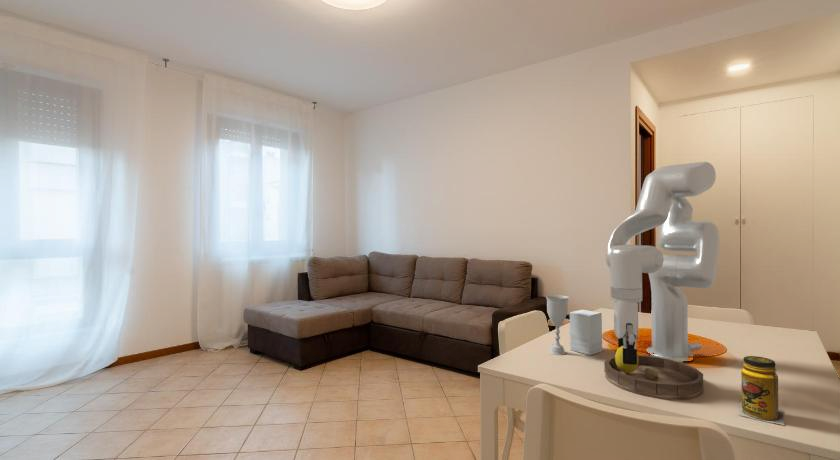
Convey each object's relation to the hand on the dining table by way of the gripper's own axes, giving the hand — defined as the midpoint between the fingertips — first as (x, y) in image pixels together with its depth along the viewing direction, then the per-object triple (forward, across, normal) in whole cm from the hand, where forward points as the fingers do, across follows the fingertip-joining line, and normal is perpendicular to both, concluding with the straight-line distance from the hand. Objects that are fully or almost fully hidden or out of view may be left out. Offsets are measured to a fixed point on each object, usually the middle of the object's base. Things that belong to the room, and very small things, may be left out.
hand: (627, 357), depth 107 cm
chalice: (+6, -17, -18) cm, 26 cm away
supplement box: (+6, -22, -9) cm, 25 cm away
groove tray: (+6, 0, +6) cm, 8 cm away
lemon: (+5, 0, 0) cm, 5 cm away
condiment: (+6, +13, +24) cm, 28 cm away
